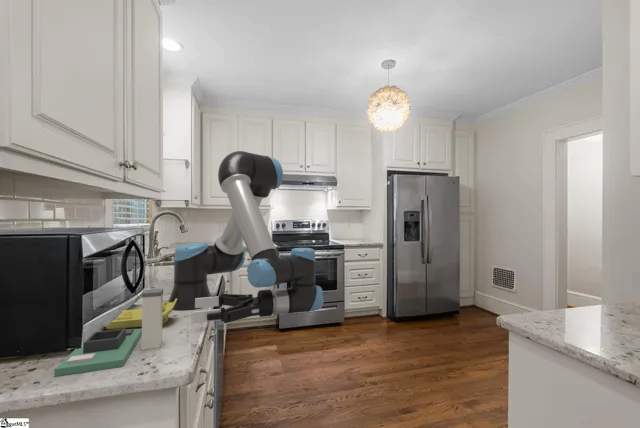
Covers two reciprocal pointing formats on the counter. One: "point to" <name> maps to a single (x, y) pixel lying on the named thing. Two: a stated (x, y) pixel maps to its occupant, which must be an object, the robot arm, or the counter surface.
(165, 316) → the plastic component
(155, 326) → the plug
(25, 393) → the counter surface
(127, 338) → the board
